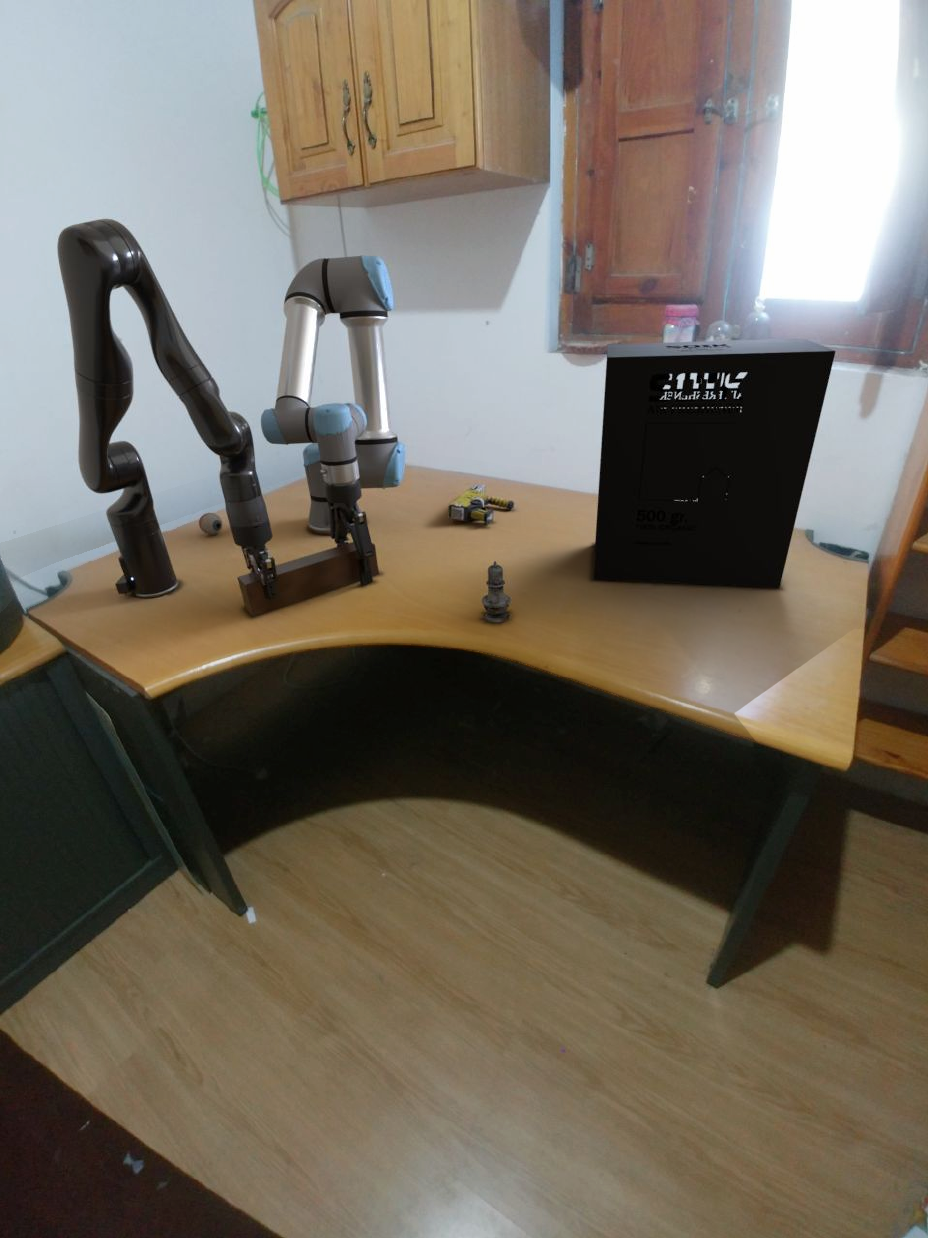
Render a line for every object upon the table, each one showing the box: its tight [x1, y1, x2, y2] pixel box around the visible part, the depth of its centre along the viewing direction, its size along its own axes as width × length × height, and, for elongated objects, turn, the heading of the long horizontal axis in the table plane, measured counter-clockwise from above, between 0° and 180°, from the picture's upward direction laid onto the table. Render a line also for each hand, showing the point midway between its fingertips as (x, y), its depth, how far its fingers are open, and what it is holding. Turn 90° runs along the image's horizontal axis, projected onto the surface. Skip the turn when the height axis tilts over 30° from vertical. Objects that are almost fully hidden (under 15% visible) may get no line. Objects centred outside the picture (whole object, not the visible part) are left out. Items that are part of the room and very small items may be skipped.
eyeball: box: [198, 512, 223, 536], centre depth 167 cm, size 6×6×6 cm
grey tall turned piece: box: [480, 560, 512, 623], centre depth 117 cm, size 6×6×12 cm
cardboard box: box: [592, 337, 836, 589], centre depth 125 cm, size 38×20×45 cm, turn 78°
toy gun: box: [447, 482, 515, 525], centre depth 172 cm, size 5×24×15 cm
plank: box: [236, 541, 380, 618], centre depth 133 cm, size 30×5×8 cm, turn 126°
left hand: (266, 593), depth 128 cm, fingers closed on plank, 5 cm apart
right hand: (356, 575), depth 140 cm, fingers open, 9 cm apart
